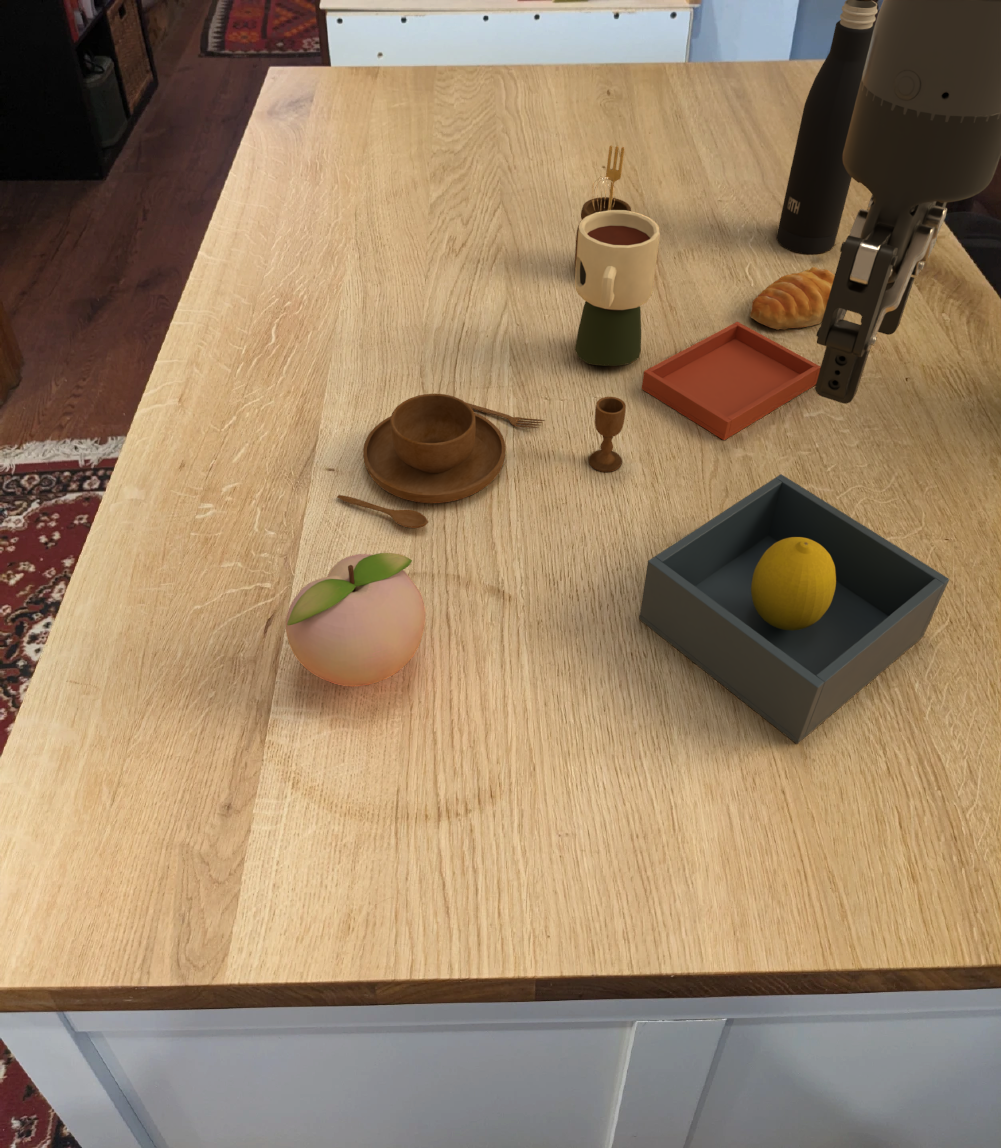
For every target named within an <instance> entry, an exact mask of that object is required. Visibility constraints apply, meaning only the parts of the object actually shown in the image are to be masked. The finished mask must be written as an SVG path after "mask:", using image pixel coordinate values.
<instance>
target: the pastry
mask: <svg viewBox="0 0 1001 1148" xmlns="http://www.w3.org/2000/svg"><path fill="white" fill-rule="evenodd" d="M834 277H835V273H832V272H831V271H830V270H829V269H826V268H817V267H816V266H812V267H810V268H809V269H805V270H804V271H800V272H796V273H790V274H785V275H783V276H780V277H779V278H778V279H777V280H775V281H773V283H771V284H769V285H768V286H766V288H765V289H764V290H762V291H761V293H759V294H758V295H757V297H755V298H754V299H753V301H752V302H751V310H750V314H749V317H750V319H753V320H754V321H756V323H759V324H761V325H764V326H765V327H768V328H770V329H775V330H776V331H778V330H782V331H783V330H784V331H785V330H788V329H801V328H807V327H813V326H816V325H821V323H822V319H823V316H824V312H825V309H826V305H827V302H828V298H829V294H830V291H831V287H832V284H833V280H834Z"/></svg>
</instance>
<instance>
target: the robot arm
mask: <svg viewBox="0 0 1001 1148" xmlns="http://www.w3.org/2000/svg"><path fill="white" fill-rule="evenodd" d="M874 25H875V27H874V30H873V34H872V38H871V42H870V46H869V50H868V54H867V59H866V63H865V67H864V71H863V75H862V78H861V83H860V87H859V91H858V95H857V99H856V103H855V107H854V111H853V115H852V119H851V123H850V127H849V131H848V135H847V139H846V143H845V147H844V151H843V164H844V167H845V169H846V171H847V172H848V174H849V175H850V176H851V177H852V178H851V179H853V180H854V181H855V182H857V184H858V183H859V184H862V186H864V187H865V188H866V189H867V190H868V191H869V192H870V193H871V197H870V199H869V202H868V205H867V209H864V208H859V210H858V212H857V213H856V216H855V219H854V221H853V223H852V227H851V229H850V231H849V235H848V236H847V237H846V239H845V240H844V241H843V242H842V243H841V246H840V250H839V253H840V256H839V259H838V261H837V262H838V263H837V266H836V269H835V273H834V275H835V277H834V280H833V284H832V287H831V291H830V294H829V298H828V302H827V305H826V309H825V312H824V316H823V319H822V322H821V323H820V326H819V327H818V330H817V333H816V344H817V345H820V346H824V347H825V350H824V352H823V357H822V361H821V364H820V366H821V368H820V372H819V375H818V379H817V383H816V385H815V386H814V387H815V388H814V390H815V392H816V394H817V395H818V396H820V397H822V398H825V399H828V400H831V401H835V402H837V403H841V404H850V403H851V402H852V401H853V400H854V398H855V396H856V395H857V393H858V392H857V391H858V389H859V386H860V383H861V380H862V377H863V373H864V370H865V367H866V364H867V362H868V361H867V360H868V358H869V354H870V351H871V348H872V346H873V347H874V346H875V344H876V342H877V339H878V336H877V334H878V333H881V334H882V335H883V334H884V335H892V334H895V332H896V331H897V329H898V328H899V326H900V323H901V320H902V317H903V315H904V312H905V309H906V305H907V303H908V299H909V296H910V294H911V291H912V287H913V285H914V281H915V277H917V276H919V273H920V272H922V271H923V269H924V267H925V264H926V262H927V261H928V260H929V258H930V256H931V254H932V252H933V250H934V248H935V246H936V243H937V241H938V235H939V232H940V230H941V228H942V226H943V224H944V221H945V219H946V216H947V212H948V208H947V207H946V206H947V203H954V202H959V201H963V200H966V199H970V198H972V197H974V196H977V195H978V194H980V193H981V192H982V191H984V190H985V189H986V188H987V187H988V186H989V185H990V183H992V180H993V178H994V176H995V173H996V170H997V168H998V164H999V162H1000V159H1001V0H882V3H881V5H880V8H879V11H878V13H877V17H876V19H875V22H874ZM913 276H915V277H913ZM848 311H849V312H852V313H855V314H858V315H860V316H861V319H860V324H859V323H856V322H852V321H849V320H845V317H846V314H847V312H848Z"/></svg>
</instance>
